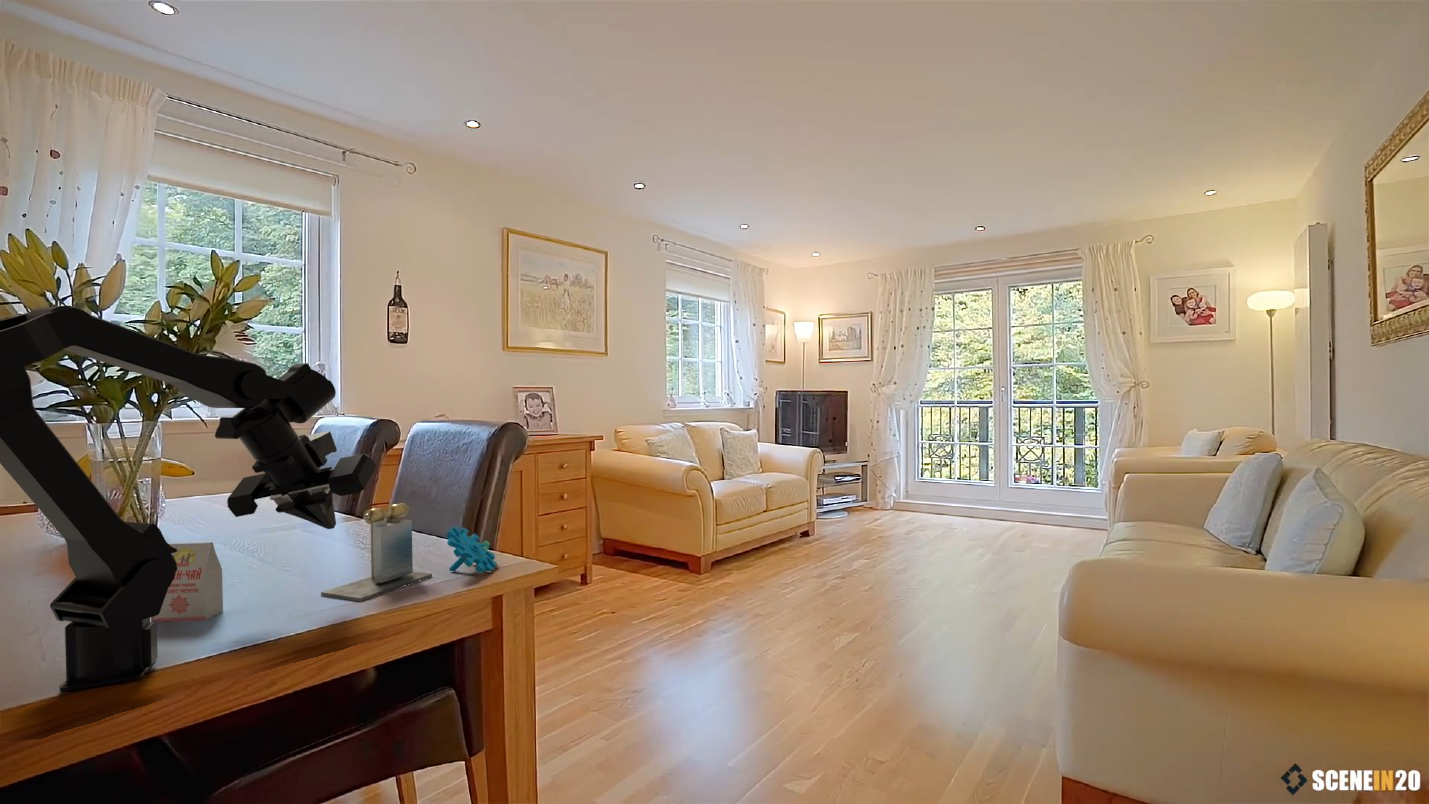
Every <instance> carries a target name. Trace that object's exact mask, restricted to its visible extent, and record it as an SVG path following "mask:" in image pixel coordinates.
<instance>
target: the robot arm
mask: <svg viewBox="0 0 1429 804" xmlns="http://www.w3.org/2000/svg"><path fill="white" fill-rule="evenodd" d="M61 351H66V352H69V353H73V354H74V355H75V354H76V355H78V356H82V357H86V358H89V359H91V360H96V361H97V362H101V363H104V364H108V365H111V366H114V367H117V368H120V369H122V370H127V371H129V372H133V373H136V374H139V375H142V376H145V377H149V378H151V379H155V380H158V381H161V382H164V383H166V384H168V385H171V386H172V387H174V388H176V389H177V390H178V391H179V392H180V393H182V394H183V395H184V396H186V397H188V398H190V399H192V400H194V401H195V402H198V403H200V404H202V405H204V406H206V407H207V408H214V409H241V410H240V411H238V412H237V413H236V414H235V415H233V416H221V417H219V423H218V426H217V428H216V430H215V434H214V437H215V439H219V440H220V439H221V440H223V439H224V440H238V439H239V440H240V442H241V443H242V444H243V445H244V446H245V448H246V450H247V451H248V452H249V453H250V455H251V456H252V458H253V459H254V460H255V461H254V464H253V465H252V466H251V469H252V470H253V471H254V473H255V474H256V475H250V476H246V477H242V479H241V480H240V482H238V484H237V485H236V487H235V488H234V490H233V491H231V494H230V495H229V496H228V498H227V499H226V500H227V501H226V502H227V503H226V504H227V506H226V507H227V508H228V510H229V511H230V512H231V513H232V514H233V515H234V517H235V518H238V517H239V518H240V517H242V516H248V515H253V514H255V512H256V511H257V509H258V506H259V504H258V503H257V502H256V501H255V500H259V499H265V498H269V499H270V501H274V503H275V504H276V508H275V511H276V512H277V513H278V514H280V513H285V514H287V515H290V516H293V517H296V518H299V519H302V520H305V521H307V522H310V523H312V524H315V525H317V526H319V527H322V528H324V529H326V530H333V529H335V527H336V525H337V520H336V513H335V507H334V500H333V498H334V497H333V495H334V494H335V495H337V496H340V497H344V496H349V495H355V494H360V493H361V492H363V491H364V490H365V489H366V487H367V485H368V483H369V481H370V479H371V477H372V476H373V474H374V472H375V470H376V468H377V465H376V463H375V461H374V460H373V457H372V456H370V455H369V454H366V453H361V454H355V455H350V456H345V457H340V458H339V460H338V462H337V463H336V465H335V467H334V468H333V467H332V466H329V467H325V465H326V464H327V462H328V459H327V456H328V455H331V454H332V453H336V452H337V451H338V448H337V446H336V443H335V440H334V438H333V435H332V432H331V430H327V431H322V432H317V433H312V434H307V435H306V434H301V435H298V434H297V432H296V431H295V429H294V427H292V425H291V424H292V423H295V424H305V423H306V422H307V421H309V420H310V419H311V418H312V417H314V416H315V415H316V414H317V413H318V412H319V411H321V410H322V409H323V408H324V407H325V406H326V405H327V404H329V403H330V402H331V401H332V400H334V398H335V397H336V393H337V391H336V388H335V386H334V384H333V382H332V381H331V380H330V379H328V378H327V377H325V375H323V374H322V373H320V372H319V371H318V370H317V371H316V370H315V369H312V368H311V366H310V364H309V363H308V362H299V363H298V362H297V363H294V365H292V366H290V368H289V369H288V370H287V371H286V372H285V373H283V374H282V375H281V376H279V377H278V378H276V377H273V376H271V375H268V374H267V371H266V370H265V369H264V367H262V366H260V365H259V364H257V363H255V362H249V361H245V360H239V359H234V358H229V357H219V356H213V355H205V354H200V353H195V352H193V351H189V350H187V349H185V348H182V347H180V346H177V345H173V344H170V343H168V342H166V341H163V340H160V339H157V338H155V337H153V336H150V335H146V334H144V333H141V332H139V331H135V330H133V329H131V328H127V327H126V326H122V325H120V324H117V323H114V322H111V321H108V320H106V319H103V318H100V317H97V316H95V315H92V314H90V313H88V312H87V311H85V310H84V309H82V308H81V307H77V306H73V305H57V306H43V307H37V308H34V309H32V310H30V311H29V312H25V313H22V314H18V315H16V316H12V317H8V318H4V319H1V320H0V465H1V467H3V468H4V470H5V471H6V472H7V473H8V474H9V476H11V478H12V479H13V481H14V482H16V484H17V485H18V486H19V487H20V488H21V490H22V491H23V492H24V493H25V494H26V495H27V496H28V498H29V499H30V500H31V501H32V502H33V503H34V505H35V506H36V507H37V508H38V510H40V513H42V514H43V515H44V516H45V518H46V519H47V520H48V521H49V523H50V524H51V525H52V526H53V527H54V528H55V530H56V531H57V532H58V533H59V534H60V535H61V537H62V538H63V539H64V540H65V543H66V548H67V557H68V565H69V567H70V569H71V571H72V572H73V574H74V576H75V578H73V579H72V580H71V582H69V584H68V585H67V586H66V587H65V588H64V589H63V590H62V591H61V592H60V593H59V594H58V595H57V596H56V597H55V598H54V599H53V600H52V602H51V603H50V605H49V607H50V609H51V612H52V613H53V615H54V617H55V619H56V620H57V621H59V622H64V621H66V622H69V623H68V624H67V625H65V627H64V643H65V644H64V645H65V646H64V647H65V674H66V675H65V679H66V680H65V681H64V682H63V683H61V685H59V686H58V688H59V689H58V691H59V692H62V693H63V692H68V691H69V692H70V691H73V690H74V691H75V690H81V689H86V688H93V687H98V686H99V687H100V686H105V685H110V684H118V683H123V682H129V681H135V680H139V679H141V678H143V677H144V675H145V674H146V673H147V671H148V670H149V669H150V667H152V665H153V664H154V662H156V660H157V658H158V657H159V656H158V627H157V626H158V625H157V624H158V623H156V622H151V617H153V616H157V615H159V613H160V610H161V608H162V605H163V602H164V599H165V596H166V593H167V590H168V588H169V587H170V585H171V583H172V581H173V580H174V576H175V572H176V571H177V570H178V566H177V562H176V560H175V558H174V556H173V555H172V554H171V553H175V552H177V549H176V548H173V547H171V546H170V545H169V544H168V543H169V542H168V541H167V540H166V539H165V537H164V535H163V533H162V531H161V529H160V528H159V527H158V526H157V524H155V523H150V522H135V521H125V520H123V519H122V518H121V517H120V516H119V514H118V513H117V511H115V509H114V508H113V507H112V505H111V504H110V503H109V502H108V500H107V499H106V498H105V496H104V495H103V494H102V492H101V491H100V490H99V489H98V488H97V487H96V484H94V483H93V482H92V480H91V478H90V477H89V476H88V475H87V474H86V472H85V471H84V470H83V469H82V467H81V466H80V465H79V463H78V462H77V461H76V460H75V458H74V457H73V455H72V454H71V453H70V452H69V451H68V450H67V448H66V447H65V445H64V444H63V443H62V441H60V439H59V438H58V436H56V434H55V433H54V431H53V430H52V429H51V427H50V426H49V425H48V424H47V422H45V420H44V419H43V417H42V416H41V415H40V413H38V411H37V409H36V408H35V407H36V406H35V405H34V399H33V391H32V390H33V389H32V380H31V377H30V376H29V373H28V371H27V368H26V367H28V366H31V365H32V364H36V363H39V362H41V361H44V360H45V359H48V358H50V357H51V356H53V355H55V354H58V353H60V352H61ZM323 466H324V468H321V467H323ZM258 473H261V474H258Z"/></svg>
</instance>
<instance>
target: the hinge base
mask: <svg viewBox="0 0 1429 804" xmlns="http://www.w3.org/2000/svg"><path fill="white" fill-rule="evenodd" d="M384 512H385V518H384V519H385V520H387V523H391V522H395V521H400V520H402V518H404V517H407V515H408V514H409V512H410V506H409V505H407V504H406V503H405V502H402V503H396V504H391V505H390V504H389V505H388V506H386V507H385V509H384ZM370 558H371V560H370V563H371V564H370V565H371V567H370V569H371V570H370V571H371V575H370V576H369V577H365V578H363V579H360V580H355V581H353V582H350V583H346V584H343V585H340V586H336V587H333V588H331V589H326V590H324V591H321V592H320V596H321V597H326V598H328V597H329V598H335V599H340V600H347V601H354V602H363V601H366V600H369V599H372V598H375V597H379V596H381V595H384V594H387V593H389V591H390V592H392V590H393V591H395V590H394V589H396V590H398V589H401V588H403V587H402V586H404V585H407V586H409V585H408V584H410V585H412V584H411V583H413V584H416V583H418V582H417V581H419V580H422V581H424V580H423V579H425V580H427V579H429V578H428V577H430V578H432V577H433V574H432V573H428V572H421V571H413V573H411V574H408V575H405V576H402V577H398V578H395V579H392V580H389V581H386V582H383V583H378V582H374V552H373V523H372V524H370ZM426 578H427V579H426ZM415 582H416V583H415ZM419 582H420V581H419ZM400 587H401V588H400ZM404 587H405V586H404ZM397 588H398V589H397Z"/></svg>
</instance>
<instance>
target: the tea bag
mask: <svg viewBox="0 0 1429 804" xmlns="http://www.w3.org/2000/svg"><path fill="white" fill-rule="evenodd" d="M167 543H168V544H169V545H170V546H171V547H173V548H176V549H177V552H175V553H171V554H172V555H173V556H174V558H175V560H176V562H177V566H178V570H177V571H176V572H175V576H174V580H173V581H172V583H171V585H170V587H169V588H168V590H167V593H166V596H165V599H164V602H163V605H162V608H161V610H160V613H159V615H157V616H153V617H150V623H152V622H155V623H156V622H157V623H158V622H159V623H160V622H181V621H183V622H184V621H186V622H187V621H206V620H208V619H210V618H212V617H213V616H216V615H218V614H219V613H221V612H224V596H223V590H224V589H223V566H221V562H220V560H219V558H218V555H217V553H216V550H215V546H214V542H213V541H211V542H210V541H207V542H176V543H175V542H172V543H171V542H167Z"/></svg>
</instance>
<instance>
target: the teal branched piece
mask: <svg viewBox="0 0 1429 804" xmlns="http://www.w3.org/2000/svg"><path fill="white" fill-rule="evenodd" d="M469 532H470V531H469V530H468V529H467V528H466V527H461V529H460V528H459V527H458V526H456V525H455V526H453V527H451V529H450V530H449V531H447V533H446V534H445V536H446V537H448V539H447V545H448V546H449V547H452V548H455V549H454V550H453V554H454V555H455V557H456V558H457V560H455V561H454V563H453V564H452V565H451V566H450V567H449V568H448V570H449V571H450V572H451V571H455V572H456V571H457V570H458V569H459V568H460V567H461V565H463V564H465V565H466V566H467V567H469V568H470V567H472V566H473V564H475V565H476V566H475V571H477V572H479V573H481V574H482V573H483V572H485V571H492V570H493V571H494V568H495V567H496V566H498V563H497V562H496V561H495V558H496V556H495V553H493V552H491V551H488V549H490V547H489V546H490V542H489V541H488V540H484V542H482V543H481V542H479V540H480V536H478V535H477V534H476V533H473V534H472V535H471V536H470V535H468V534H469ZM493 571H492V572H493Z"/></svg>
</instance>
